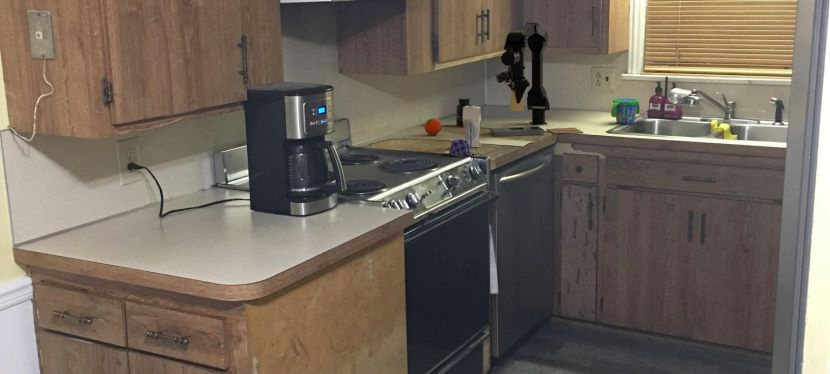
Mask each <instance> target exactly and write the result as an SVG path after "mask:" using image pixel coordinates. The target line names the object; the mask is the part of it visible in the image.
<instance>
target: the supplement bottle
mask: <svg viewBox="0 0 830 374" xmlns="http://www.w3.org/2000/svg"><path fill="white" fill-rule="evenodd" d="M470 103H471V98H469V97H458V104H457V105H456V110H455V111H456V114H455V115H456V116H455V118H456V119H455V120H456V121H455V122H456V126H457V127H458V126H463V107H465V106H472V104H470ZM462 128H464V126H463V127H462Z"/></svg>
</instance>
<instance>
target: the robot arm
mask: <svg viewBox="0 0 830 374" xmlns="http://www.w3.org/2000/svg"><path fill="white" fill-rule="evenodd" d="M548 40H549V35H548V33H547V30H546V28H544V27H542V26H541V25H540V24H539V23H538V22H526V23H525V24H524V25H523V26H522V27H521V28H519V29H518V30H513V31H509V32H508V33H507V35H506V37H505V42H504V45H503V50H505V51H504V52H503V53H502V54H501V57H500V60H501V62H502V64H503V65H504V66H507V69H506V70H503V71H500V72H499V73H496V74H495V78H496V83H499V84H501V83H505V84H506V85H507V86H508V88H509V89H510V90H515V95H516V102H517V103H520V101H521V99H522V97H523V94H525V92H526V90H527V88H530V89H529V90H528V91H527V93H526V94H527V97H526V106H527V111H531V121H529V124H531V125H532V126H539V125H540V126H542V125H548V122H546V111H550V108H551V103H550V101H549V97H548V96H547V91H546V89H545V87H544V85H543V81H544V80H543V79H544V78H543V77H544V75H543V74H544V73H543V72H544V68H543V67H544V62H543V61H544V56H543V55H544V54H543V53H544V50H545V49H546V47H547V45H548V42H549V41H548ZM526 46H528V49H529V50H530V52H531V83H530V80H529V79H528V78H526V76H525V70H526V66H525V51H526V50H525V48H526ZM530 84H531V86H530Z"/></svg>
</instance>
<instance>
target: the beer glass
mask: <svg viewBox="0 0 830 374" xmlns="http://www.w3.org/2000/svg"><path fill="white" fill-rule="evenodd" d="M481 108H482V107H481V106H480V105H479V106H478V105H471V106H465V107H463V126H464V127H463V131H464V140H467V141H468V143H469V146H470V147H478V148H480V147H481V141H480V132H481V127H482V126H481V125H482V109H481ZM479 146H480V147H479Z"/></svg>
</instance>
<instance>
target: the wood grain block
mask: <svg viewBox="0 0 830 374" xmlns="http://www.w3.org/2000/svg"><path fill="white" fill-rule="evenodd" d="M524 94H525V93H524ZM524 94H523V97H522V99H521V101H520V103H517V102H516V95H515V90H511V89H510V91H509V110H510V111H512V112H521V111H522V112H524V110H525V109H524V102H525V100H524V96H525V95H524Z"/></svg>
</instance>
